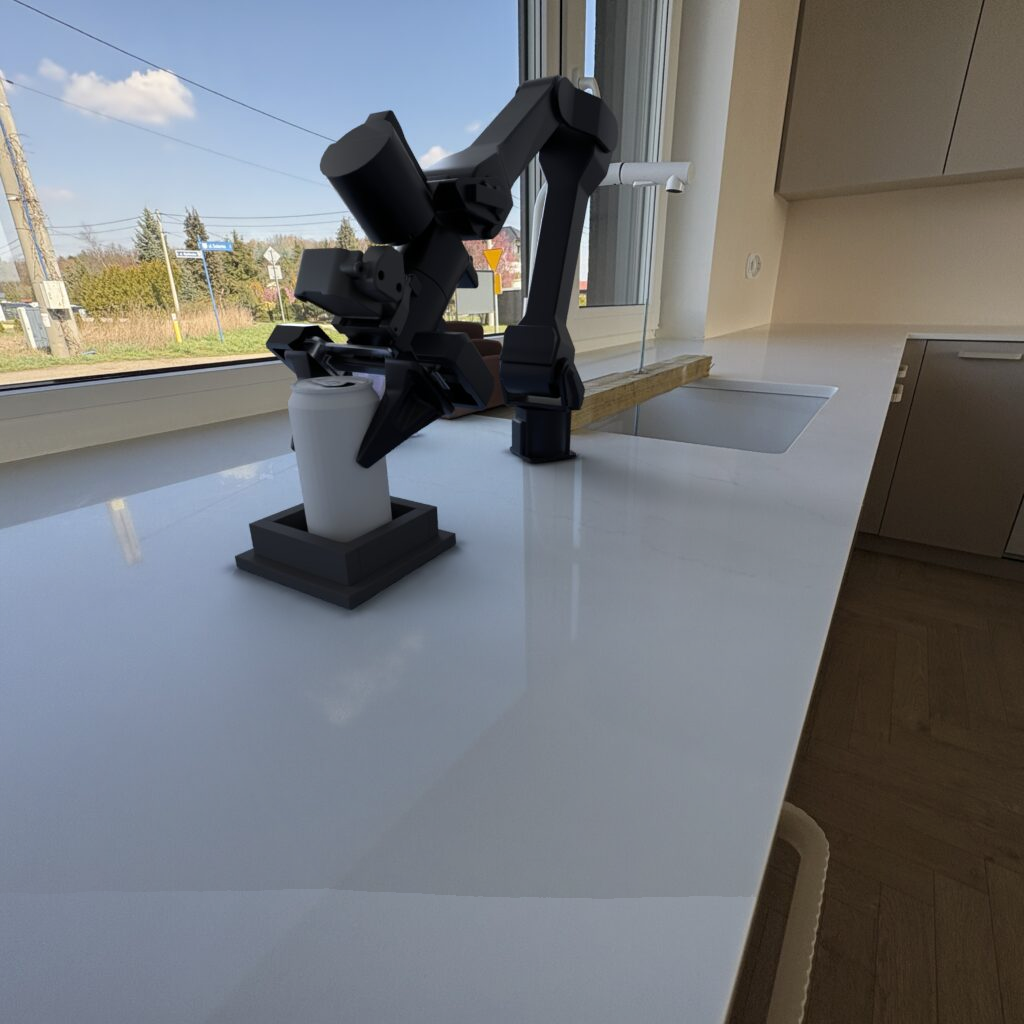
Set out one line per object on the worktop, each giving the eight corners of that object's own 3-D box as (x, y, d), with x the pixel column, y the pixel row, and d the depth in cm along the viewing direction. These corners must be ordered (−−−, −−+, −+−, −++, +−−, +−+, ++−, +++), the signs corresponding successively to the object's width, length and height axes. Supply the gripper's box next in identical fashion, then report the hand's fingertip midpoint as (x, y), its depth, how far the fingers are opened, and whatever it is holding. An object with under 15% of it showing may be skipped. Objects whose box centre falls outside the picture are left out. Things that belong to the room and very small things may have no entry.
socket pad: (351, 515, 53) (347, 480, 52) (456, 543, 47) (454, 504, 46) (236, 567, 43) (227, 525, 42) (350, 610, 38) (344, 563, 36)
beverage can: (343, 560, 41) (319, 392, 36) (292, 537, 44) (266, 382, 40) (409, 531, 45) (397, 378, 41) (359, 512, 49) (342, 370, 44)
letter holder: (406, 412, 95) (399, 323, 90) (481, 394, 110) (479, 318, 104) (450, 420, 89) (446, 326, 84) (523, 400, 104) (524, 320, 99)
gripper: (265, 212, 43) (156, 380, 39) (466, 195, 35) (355, 409, 30) (352, 315, 53) (272, 460, 48) (528, 322, 44) (450, 500, 39)
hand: (327, 458), depth 41 cm, fingers closed on beverage can, 6 cm apart
